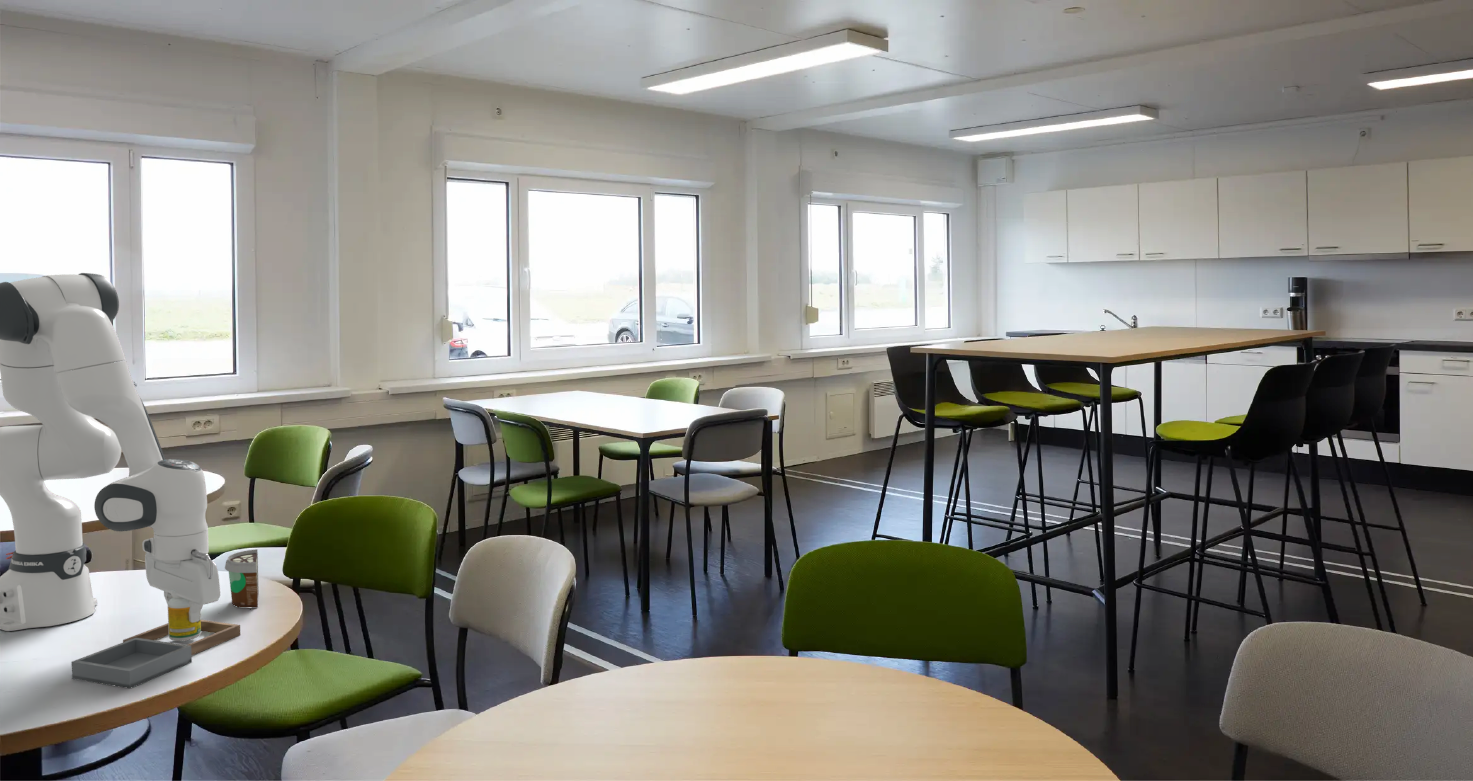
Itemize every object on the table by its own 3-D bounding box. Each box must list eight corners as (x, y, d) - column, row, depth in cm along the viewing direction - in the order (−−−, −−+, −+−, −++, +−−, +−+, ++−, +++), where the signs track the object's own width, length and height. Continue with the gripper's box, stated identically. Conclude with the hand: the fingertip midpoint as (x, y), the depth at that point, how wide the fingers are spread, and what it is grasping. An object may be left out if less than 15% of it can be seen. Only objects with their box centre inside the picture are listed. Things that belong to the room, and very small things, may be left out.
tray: (72, 678, 167) (71, 661, 166) (136, 653, 179) (135, 637, 179) (130, 688, 163) (129, 671, 163) (191, 662, 175) (191, 645, 175)
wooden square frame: (123, 650, 180) (122, 640, 180) (184, 627, 193) (183, 617, 193) (182, 659, 176) (182, 648, 176) (240, 635, 189) (240, 625, 189)
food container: (227, 596, 213) (225, 551, 212) (258, 593, 216) (257, 548, 215) (224, 613, 202) (222, 565, 201) (257, 609, 205) (256, 562, 204)
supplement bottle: (167, 635, 186) (165, 585, 185) (199, 630, 189) (197, 581, 188) (170, 643, 182) (168, 593, 181) (202, 638, 185) (201, 589, 184)
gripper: (228, 551, 180) (230, 624, 182) (171, 534, 192) (174, 602, 193) (193, 559, 175) (196, 634, 177) (137, 540, 186) (140, 610, 188)
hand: (184, 617), depth 185 cm, fingers closed on supplement bottle, 5 cm apart
